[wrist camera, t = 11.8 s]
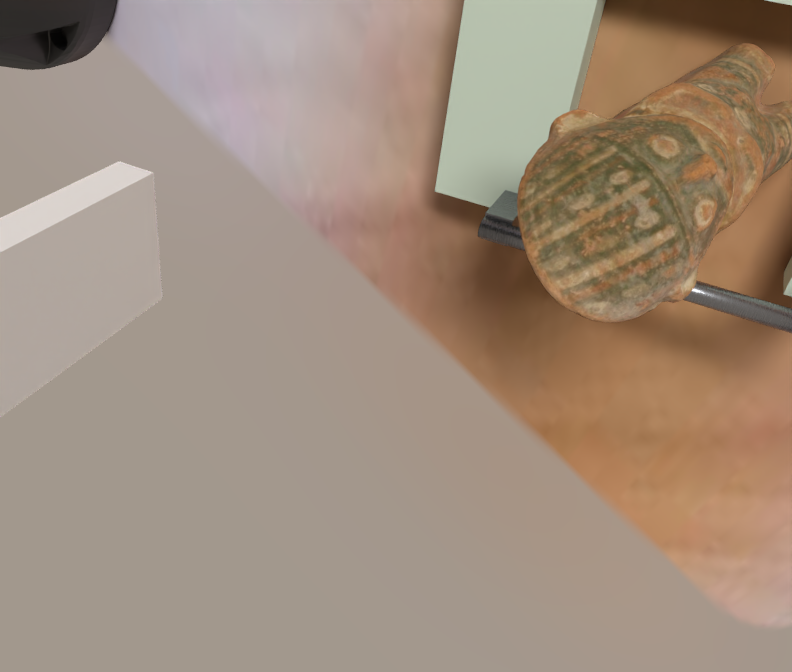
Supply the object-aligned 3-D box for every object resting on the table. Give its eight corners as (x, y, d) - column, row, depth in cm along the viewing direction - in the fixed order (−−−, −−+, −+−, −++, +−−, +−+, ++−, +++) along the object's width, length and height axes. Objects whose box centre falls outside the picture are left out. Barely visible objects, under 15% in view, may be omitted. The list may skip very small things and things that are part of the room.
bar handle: (500, 214, 39) (475, 243, 36) (505, 189, 38) (480, 217, 35) (830, 312, 34) (834, 355, 31) (844, 286, 34) (849, 328, 31)
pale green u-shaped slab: (450, 176, 42) (434, 191, 40) (511, -190, 32) (494, -193, 30) (915, 310, 35) (922, 335, 33) (1175, -100, 25) (1205, -96, 23)
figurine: (827, 120, 33) (845, 261, 21) (672, 225, 38) (620, 383, 26) (706, -28, 32) (657, 36, 20) (564, 100, 37) (462, 208, 26)
